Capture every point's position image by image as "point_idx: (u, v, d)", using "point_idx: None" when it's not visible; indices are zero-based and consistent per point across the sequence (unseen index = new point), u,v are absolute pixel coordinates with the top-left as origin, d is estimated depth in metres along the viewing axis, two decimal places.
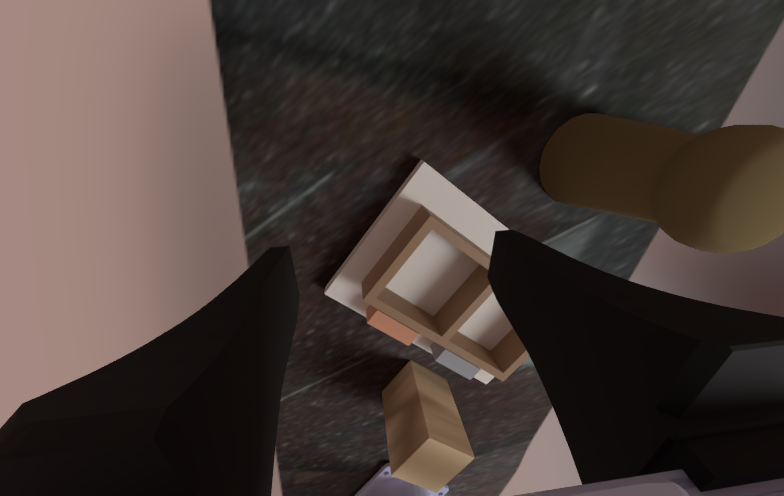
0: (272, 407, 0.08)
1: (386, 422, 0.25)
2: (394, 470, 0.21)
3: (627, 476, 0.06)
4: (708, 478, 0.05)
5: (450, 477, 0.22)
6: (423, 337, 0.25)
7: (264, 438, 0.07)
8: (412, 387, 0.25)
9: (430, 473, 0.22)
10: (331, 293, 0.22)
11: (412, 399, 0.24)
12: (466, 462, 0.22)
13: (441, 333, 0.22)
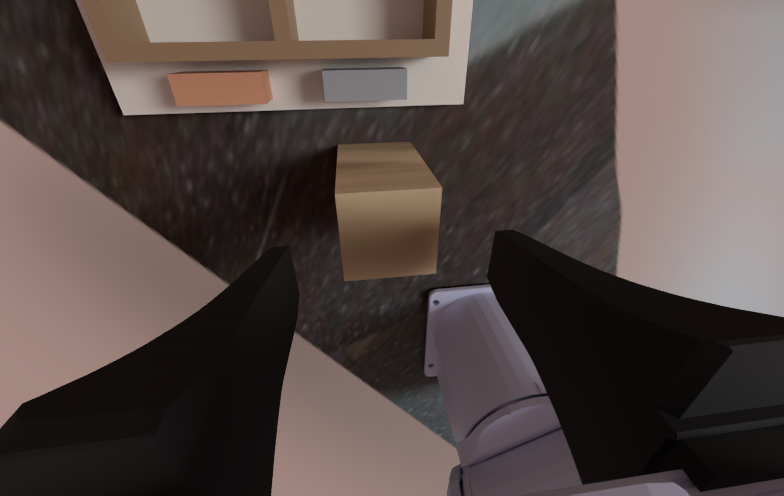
0: (272, 407, 0.08)
1: None
2: None
3: (627, 476, 0.06)
4: (708, 478, 0.05)
5: (433, 241, 0.13)
6: (305, 89, 0.15)
7: (264, 437, 0.07)
8: None
9: (396, 249, 0.13)
10: (130, 108, 0.15)
11: None
12: (435, 202, 0.13)
13: (277, 41, 0.12)
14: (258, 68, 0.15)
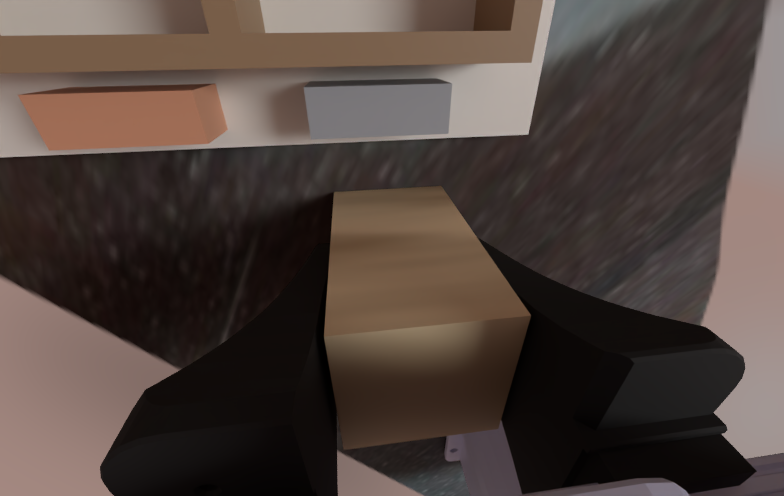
0: (333, 400, 0.08)
1: None
2: (342, 437, 0.08)
3: (554, 488, 0.06)
4: None
5: (501, 390, 0.08)
6: (279, 114, 0.09)
7: (332, 429, 0.08)
8: None
9: (436, 405, 0.08)
10: None
11: None
12: (515, 338, 0.07)
13: (217, 34, 0.07)
14: (199, 81, 0.09)
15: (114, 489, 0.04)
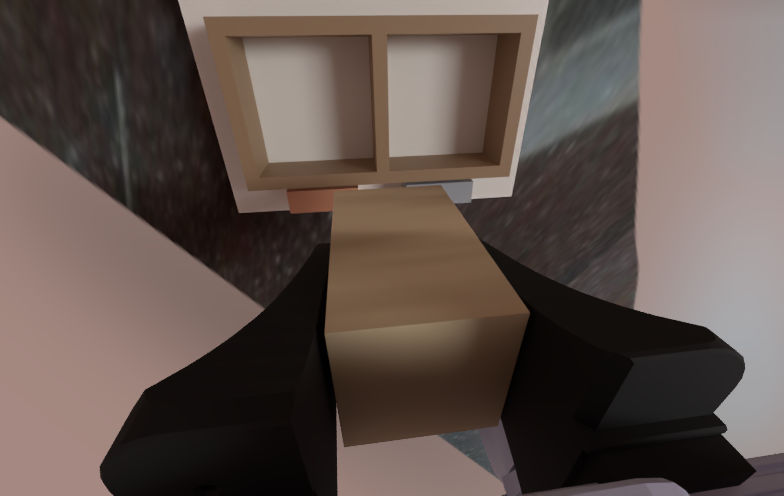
0: (333, 400, 0.08)
1: None
2: (342, 434, 0.08)
3: (554, 487, 0.06)
4: None
5: (501, 387, 0.08)
6: None
7: (332, 429, 0.08)
8: None
9: (436, 402, 0.08)
10: (244, 208, 0.18)
11: None
12: (514, 335, 0.07)
13: (377, 169, 0.16)
14: None
15: (112, 489, 0.04)
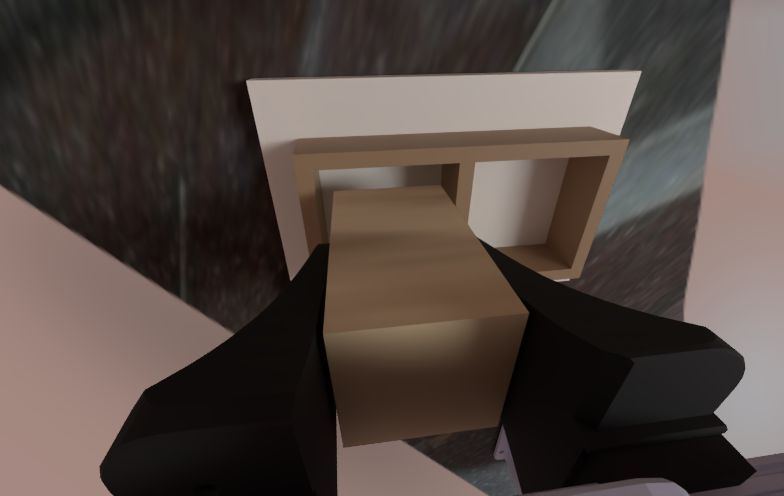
0: (333, 400, 0.08)
1: None
2: None
3: (554, 488, 0.06)
4: None
5: (501, 387, 0.08)
6: None
7: (332, 429, 0.08)
8: None
9: (435, 403, 0.08)
10: None
11: None
12: (513, 335, 0.07)
13: None
14: None
15: (112, 489, 0.04)
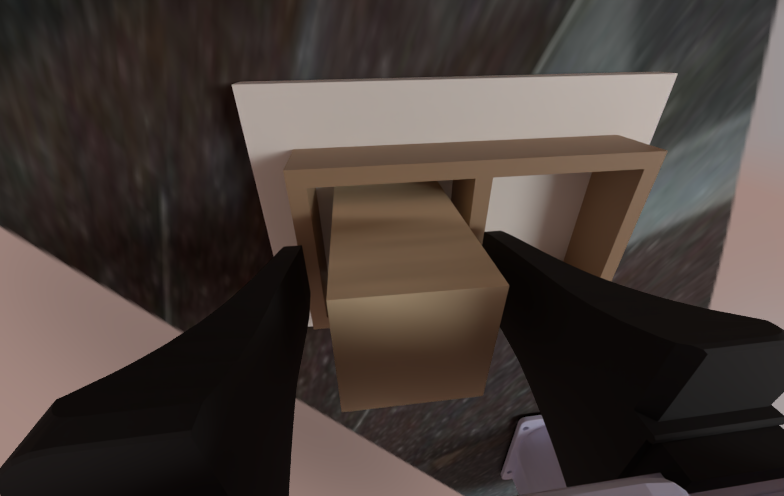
0: (288, 405, 0.08)
1: None
2: (340, 400, 0.09)
3: (608, 479, 0.06)
4: (685, 482, 0.05)
5: (485, 357, 0.08)
6: None
7: (282, 435, 0.07)
8: None
9: (426, 370, 0.08)
10: None
11: None
12: (495, 306, 0.07)
13: None
14: None
15: None
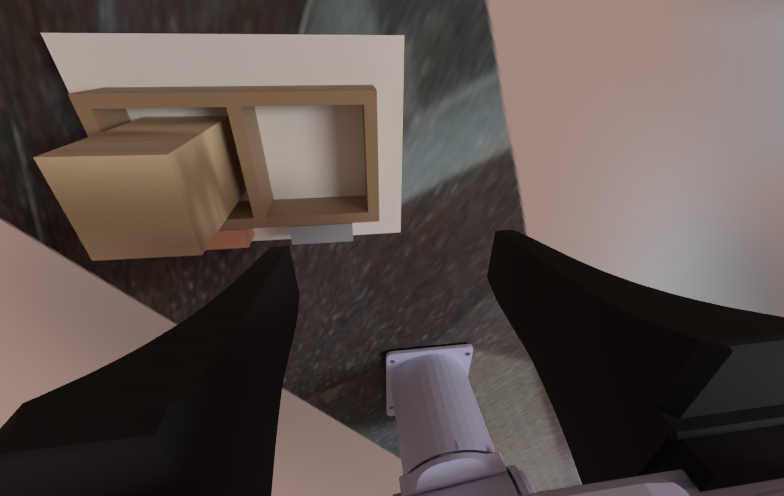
0: (272, 407, 0.08)
1: None
2: (89, 250, 0.12)
3: (627, 476, 0.06)
4: (708, 478, 0.05)
5: (183, 217, 0.12)
6: (278, 227, 0.20)
7: (264, 438, 0.07)
8: None
9: (141, 226, 0.12)
10: None
11: None
12: (166, 172, 0.11)
13: (256, 215, 0.18)
14: None
15: None
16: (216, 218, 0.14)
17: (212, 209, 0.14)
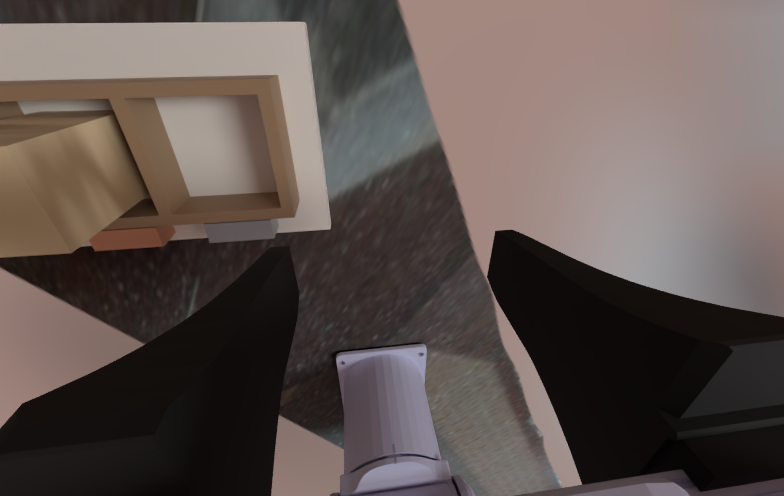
0: (272, 407, 0.08)
1: None
2: None
3: (627, 476, 0.06)
4: (708, 478, 0.05)
5: (40, 213, 0.11)
6: (200, 225, 0.20)
7: (264, 437, 0.07)
8: None
9: None
10: None
11: None
12: (9, 165, 0.11)
13: (163, 212, 0.17)
14: None
15: None
16: (100, 215, 0.14)
17: (94, 206, 0.14)
